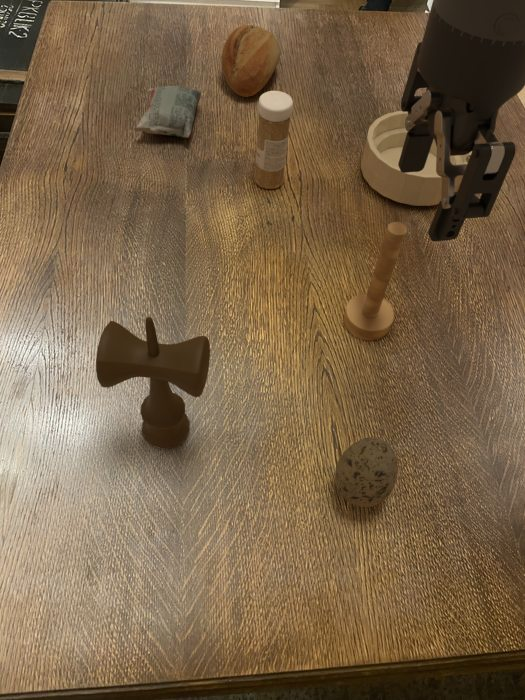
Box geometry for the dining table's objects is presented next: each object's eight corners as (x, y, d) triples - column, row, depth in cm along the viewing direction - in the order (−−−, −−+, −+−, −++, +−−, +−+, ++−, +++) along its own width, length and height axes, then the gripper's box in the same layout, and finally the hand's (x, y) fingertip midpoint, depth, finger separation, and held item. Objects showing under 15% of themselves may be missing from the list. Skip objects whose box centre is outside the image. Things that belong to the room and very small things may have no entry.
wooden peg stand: (385, 302, 78) (418, 208, 65) (395, 339, 75) (432, 248, 62) (339, 303, 78) (364, 208, 65) (347, 341, 74) (374, 249, 61)
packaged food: (135, 143, 94) (132, 114, 90) (150, 99, 101) (148, 71, 97) (191, 149, 94) (190, 121, 90) (202, 105, 101) (202, 77, 97)
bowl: (446, 143, 98) (457, 110, 94) (472, 209, 90) (487, 176, 85) (352, 143, 97) (359, 110, 92) (370, 210, 88) (378, 177, 83)
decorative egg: (347, 452, 66) (366, 407, 58) (396, 483, 64) (422, 441, 56) (319, 495, 63) (334, 453, 55) (369, 528, 61) (392, 490, 53)
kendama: (129, 400, 68) (100, 282, 51) (214, 412, 68) (212, 297, 51) (115, 448, 64) (80, 338, 48) (205, 461, 64) (199, 355, 48)
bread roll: (212, 97, 102) (212, 51, 95) (232, 52, 110) (233, 6, 104) (268, 107, 101) (271, 61, 95) (284, 60, 110) (288, 15, 103)
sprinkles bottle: (254, 170, 92) (259, 88, 81) (284, 171, 92) (292, 90, 81) (253, 190, 89) (258, 108, 78) (284, 191, 89) (293, 110, 78)
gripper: (601, 65, 35) (496, 259, 48) (506, -48, 43) (439, 146, 56) (478, 70, 34) (406, 268, 47) (404, -46, 42) (361, 151, 55)
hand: (424, 202), depth 51 cm, fingers open, 8 cm apart
